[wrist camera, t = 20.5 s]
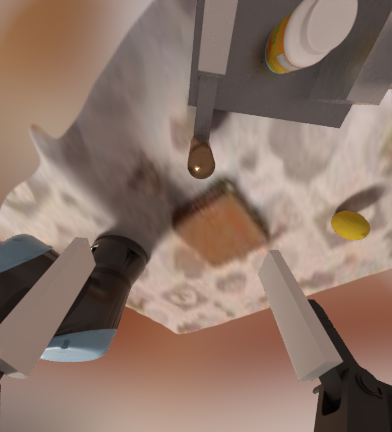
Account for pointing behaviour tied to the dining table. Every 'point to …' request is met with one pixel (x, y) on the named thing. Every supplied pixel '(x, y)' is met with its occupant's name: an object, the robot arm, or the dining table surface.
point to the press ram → (210, 80)
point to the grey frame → (305, 77)
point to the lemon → (350, 225)
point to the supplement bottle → (309, 33)
